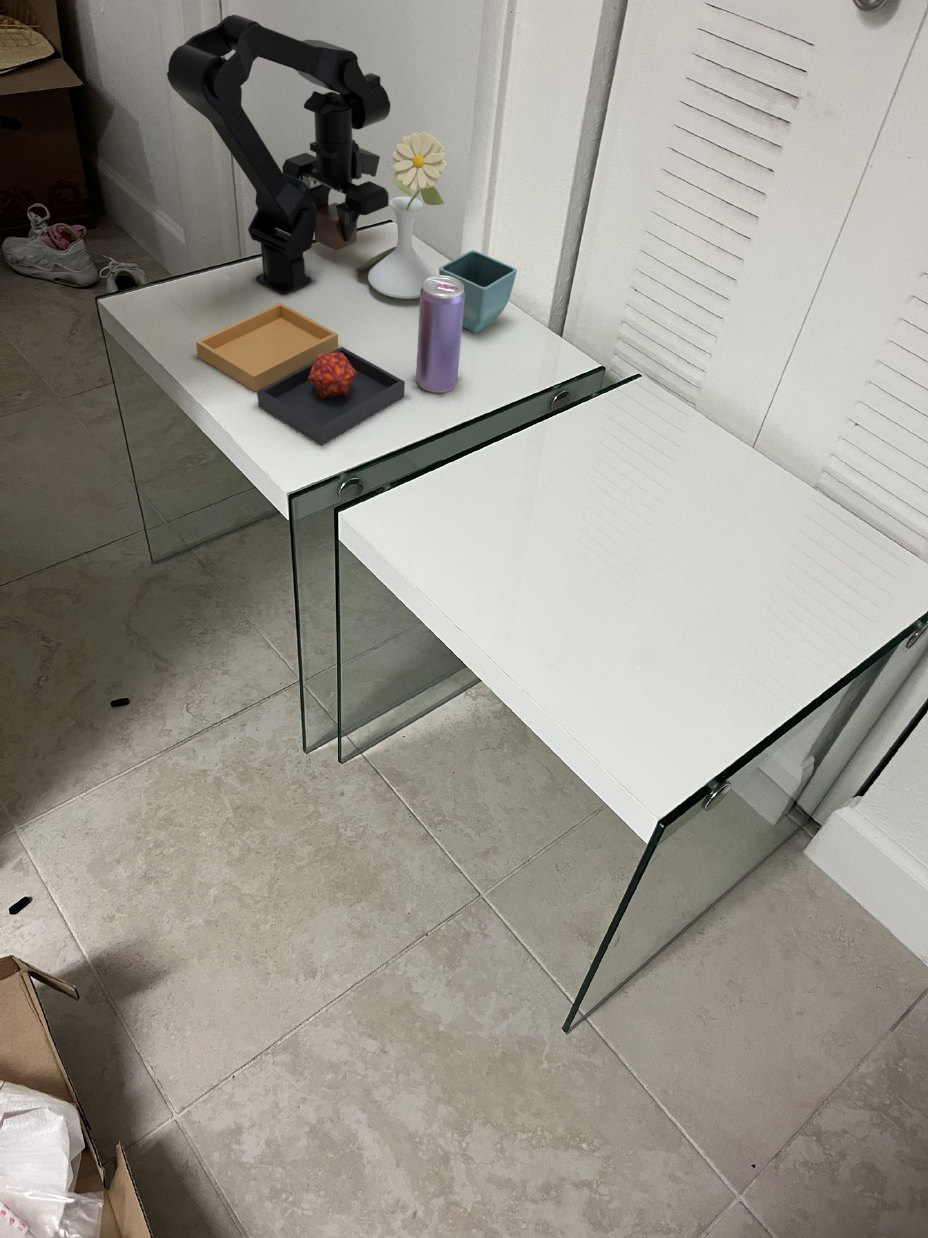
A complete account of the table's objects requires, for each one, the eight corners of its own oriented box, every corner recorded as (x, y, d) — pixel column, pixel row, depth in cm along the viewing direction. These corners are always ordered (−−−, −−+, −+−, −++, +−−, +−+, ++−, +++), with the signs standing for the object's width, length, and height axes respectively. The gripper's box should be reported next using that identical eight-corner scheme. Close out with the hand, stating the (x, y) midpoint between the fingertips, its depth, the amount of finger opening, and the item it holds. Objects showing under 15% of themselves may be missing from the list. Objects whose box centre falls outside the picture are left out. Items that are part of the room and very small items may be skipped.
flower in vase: (353, 286, 153) (352, 121, 134) (401, 264, 159) (406, 104, 141) (412, 317, 148) (419, 151, 129) (460, 293, 154) (473, 131, 136)
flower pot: (512, 322, 149) (518, 268, 143) (479, 343, 144) (485, 288, 138) (467, 302, 153) (472, 248, 146) (434, 322, 147) (437, 267, 141)
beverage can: (452, 397, 134) (460, 299, 123) (411, 390, 134) (416, 292, 123) (460, 375, 138) (469, 278, 127) (421, 368, 138) (426, 271, 127)
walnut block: (314, 240, 158) (313, 210, 154) (335, 231, 160) (335, 201, 157) (336, 251, 156) (335, 221, 152) (357, 241, 158) (357, 212, 155)
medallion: (394, 244, 149) (397, 249, 150) (402, 247, 157) (404, 251, 157) (351, 269, 151) (353, 273, 151) (360, 270, 159) (362, 274, 159)
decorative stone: (349, 395, 135) (360, 405, 128) (302, 391, 133) (311, 402, 126) (352, 349, 133) (363, 357, 126) (304, 345, 131) (313, 353, 124)
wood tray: (197, 356, 136) (195, 341, 134) (281, 317, 145) (280, 302, 143) (255, 392, 131) (254, 376, 129) (338, 348, 140) (338, 333, 138)
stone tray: (258, 406, 129) (256, 390, 127) (342, 361, 138) (342, 346, 136) (321, 445, 124) (321, 429, 122) (404, 396, 133) (404, 381, 131)
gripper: (413, 142, 147) (410, 240, 158) (328, 106, 154) (330, 202, 165) (363, 161, 140) (363, 261, 152) (277, 122, 148) (283, 221, 159)
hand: (335, 235), depth 157 cm, fingers closed on walnut block, 5 cm apart
